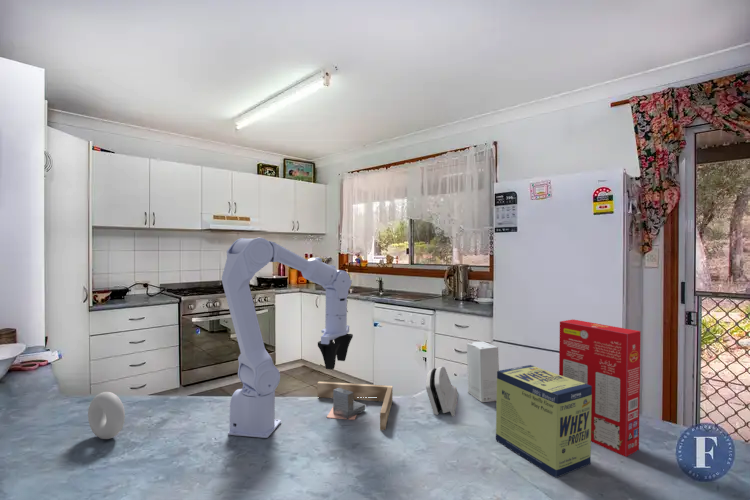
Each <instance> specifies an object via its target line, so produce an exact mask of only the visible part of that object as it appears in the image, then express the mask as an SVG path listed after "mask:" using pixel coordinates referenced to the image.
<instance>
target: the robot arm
mask: <svg viewBox="0 0 750 500" xmlns="http://www.w3.org/2000/svg"><path fill="white" fill-rule="evenodd" d="M276 262H277V263H280V264H282V265H284V266H287V267H290V268H292V269H295V270H296V271H299V272H301V275H302V278H304V279H305V280H308V281H309V282H312V283H313V284H317V285H319V286H321V287H322V289H324V290H325V321H324V322H325V324H324V325H325V326H324V327H325V328H322V329H321V330H320V331H321V334H322V335H321V336H320V340H319V341H318V342H317V347H318V349H319V351H320V352H321V356H322V358H323V362H324V366H325V369H326V370H333V371H334V369H335V366H336V359H337V361H338V362H345V361H346V358H347V355H348V350H349V347H350V343H351V341H352V340H353V338H354V335H353V333H350V325H347V324H348V322H347V321H348V317H347V316H348V307H347V306H348V303H347V302H348V296H349V290H350V288H351V286H352V283H353V282H352V281H353V280H352V279H351V277H350V275H349V273H348V272H347V271H346V270H342V269H337V268H336V265H333V264H330V265H329V264H328V263H326V262H323V258H322V257H321V258H320V257H317V256H316V257H310V258H308V259H307V258H305V257H303V256H301V255H299V254H297V253H296V252H293V251H291V250H290V249H287V248H286V247H284V246H282V245H280V244H279V243H276V242H274V241H272V240H267V239H266V238H265V237H264V238H263V237H255V238H247V237H246V238H245V237H241V238H238V239H236V240H235V241H233V243H232V244H231V245H230V246H229V247H228V249H227V250H226V259H225V264H224V268H223V272H222V275H221V283H222V287H223V290H224V295H225V298H226V299H225V300H226V301H227V306H228V310H229V313H230V317H231V321H232V325H233V329H234V332H235V336H236V341H237V344H238V348H239V352H240V353H239V355H238V357H237V360H238V370H237V376H238V379H239V381H240V382H241V383H242V388H238V389H236V390H235V391H234V392H233V394H232V395H231V398H230V403H229V430H228V432H227V435H228V436H238V437H250V438H251V437H252V438H262V439H267V438H269V437H270V436H271V435H272V433H273V432H275V430H276V429H277V428H278V427H279V425H280V424H281V423H282V420H281V419H275V418H276V417H275V416H276V415H275V414H276V413H275V412H276V410H275V409H276V408H275V407H276V406H275V404H276V400H275V399H276V395H275V394H276V389H277V387H278V385H279V384H280V382H281V381H280V380H281V374H280V373H281V372H280V370H279V369H278V368H277V366H275V364H274V362H273V358H272V357H271V355H270V353H269V352H268V351H267V350H266V347H265V342H264V340H263V336H262V335H263V334H262V331H261V327H260V324H259V319H258V316H257V311H256V307H255V304H254V303H255V302H254V300H253V294H252V291H251V288H250V281H251V280H252V279H253V278H254V276H255V275H256V273H258V272H259V271H260V270H262V269H263V268H264V267H266V266H267V265H268V264H269V263H276Z"/></svg>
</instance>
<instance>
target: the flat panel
mask: <svg viewBox="0 0 750 500" xmlns="http://www.w3.org/2000/svg"><path fill="white" fill-rule="evenodd" d="M326 418H327V419H335V420H337V419H338V420H339V419H340V420H347V419H346V418H343V417H341V416H338V415H336V414H333V407H332V408H331V409H330V410H329V413H328V414H327V416H326ZM356 418H357V415H355V416H353V417H351V418H349V419H348V420H351V421H352V420H353V421H355V420H356Z"/></svg>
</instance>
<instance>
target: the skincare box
mask: <svg viewBox="0 0 750 500" xmlns="http://www.w3.org/2000/svg"><path fill="white" fill-rule="evenodd" d="M499 359H500V358H499V346H496V345H493V344H491V343H488V342H486V341H473V342H466V362H467V365H466V366H467V393H468V394H470V395H471V396H472V397H474V398H475V399H477V400H478V401H480V403H488V402H491V403H492V402H497V371H500V364H499V362H500V361H499Z"/></svg>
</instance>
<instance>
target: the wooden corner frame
mask: <svg viewBox="0 0 750 500" xmlns="http://www.w3.org/2000/svg"><path fill="white" fill-rule="evenodd" d="M393 387H394V386H393V385H385V384H384V385H382V384H378V385H377V384H366V383H350V382H335V381H334V382H333V381H318V382H317V392H316V393H317V394H316V396H317V398H322V399H324V398H325V399H333V390H334V389H337V388H342V389H345V390H348V391H351V392H354V398H353V401H368V402H371V401H372V402H382V406H381V409H380V412H379V430H380V431H386V428H387V424H388V421H389V417H390V412H391V408H392V403H393V392H394V391H393ZM357 397H359V398H357ZM360 397H362V398H360ZM363 397H364V398H363ZM365 397H367V398H365ZM368 397H377V398H368Z"/></svg>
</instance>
